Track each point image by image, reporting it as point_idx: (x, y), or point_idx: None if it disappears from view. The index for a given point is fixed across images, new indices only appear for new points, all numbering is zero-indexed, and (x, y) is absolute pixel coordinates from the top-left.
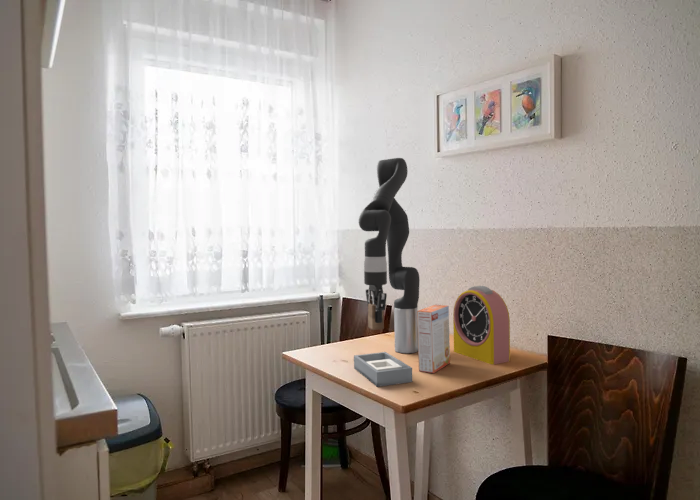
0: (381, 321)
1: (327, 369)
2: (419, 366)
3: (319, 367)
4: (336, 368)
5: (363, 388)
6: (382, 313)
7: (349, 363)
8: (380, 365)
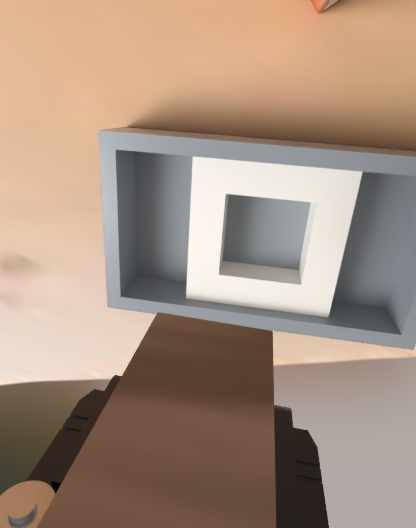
0: (289, 415)
1: (106, 362)
2: (326, 5)
3: (73, 372)
4: (105, 333)
5: (372, 358)
6: (271, 477)
7: (57, 265)
8: (224, 219)
